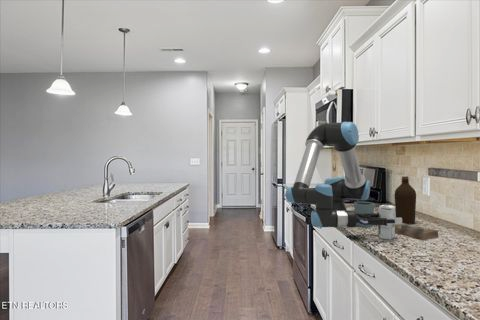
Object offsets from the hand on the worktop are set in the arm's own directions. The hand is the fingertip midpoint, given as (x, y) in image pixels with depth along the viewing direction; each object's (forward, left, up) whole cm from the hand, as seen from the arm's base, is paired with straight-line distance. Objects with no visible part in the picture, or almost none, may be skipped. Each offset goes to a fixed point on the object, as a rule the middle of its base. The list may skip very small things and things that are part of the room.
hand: (398, 219), depth 149 cm
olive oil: (-33, +16, -9) cm, 38 cm away
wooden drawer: (-7, +9, -9) cm, 14 cm away
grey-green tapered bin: (-25, -8, -9) cm, 28 cm away
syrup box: (0, -5, -9) cm, 10 cm away
